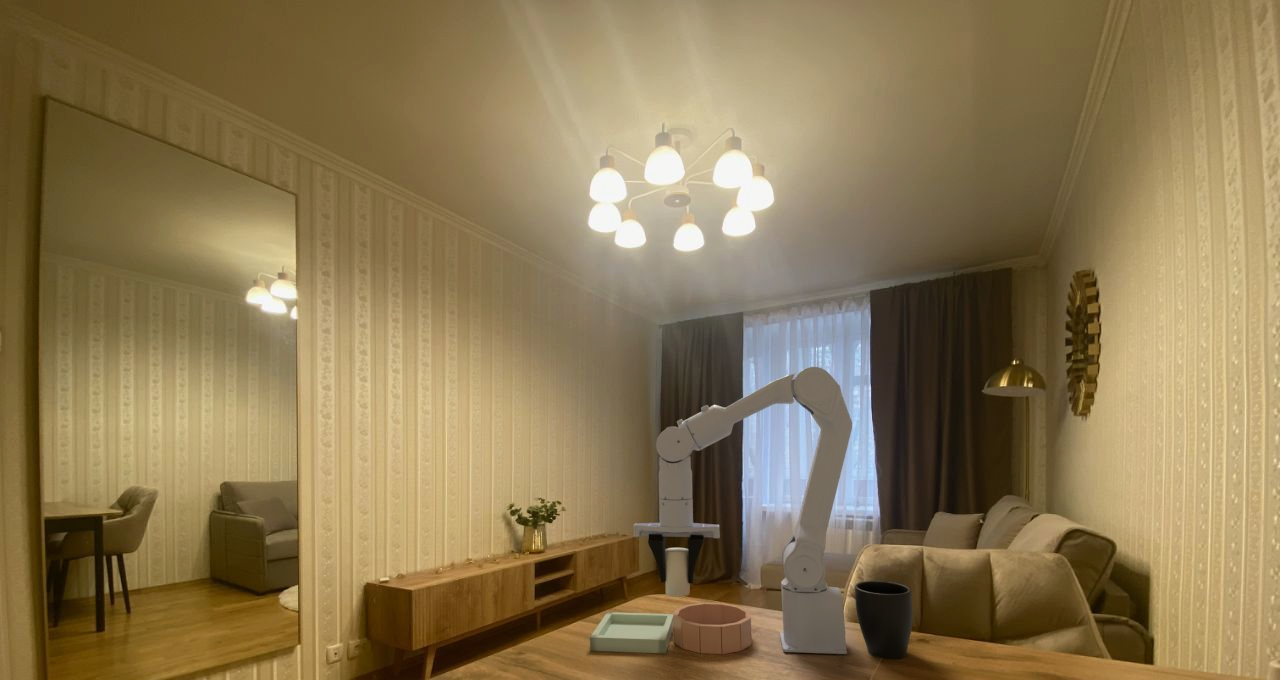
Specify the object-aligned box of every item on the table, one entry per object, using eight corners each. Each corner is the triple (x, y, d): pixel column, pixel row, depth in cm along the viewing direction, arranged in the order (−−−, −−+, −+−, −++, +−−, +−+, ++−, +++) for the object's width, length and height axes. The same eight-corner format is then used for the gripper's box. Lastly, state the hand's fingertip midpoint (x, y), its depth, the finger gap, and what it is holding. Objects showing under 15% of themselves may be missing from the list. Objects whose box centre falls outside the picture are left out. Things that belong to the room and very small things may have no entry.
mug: (904, 636, 99) (900, 575, 101) (922, 664, 88) (916, 595, 89) (852, 633, 101) (848, 574, 103) (862, 660, 90) (858, 593, 91)
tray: (674, 626, 106) (673, 614, 107) (665, 653, 94) (665, 639, 94) (607, 623, 108) (607, 612, 109) (590, 650, 96) (590, 637, 96)
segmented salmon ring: (750, 628, 105) (749, 603, 105) (752, 655, 92) (751, 627, 93) (678, 625, 107) (677, 601, 107) (670, 652, 94) (669, 624, 95)
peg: (690, 590, 103) (689, 547, 104) (688, 597, 99) (687, 552, 100) (667, 589, 103) (666, 547, 104) (664, 596, 100) (663, 552, 101)
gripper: (719, 495, 106) (721, 576, 104) (637, 495, 108) (638, 574, 107) (718, 500, 99) (720, 587, 97) (630, 500, 102) (631, 584, 100)
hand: (677, 581), depth 101 cm, fingers closed on peg, 4 cm apart
